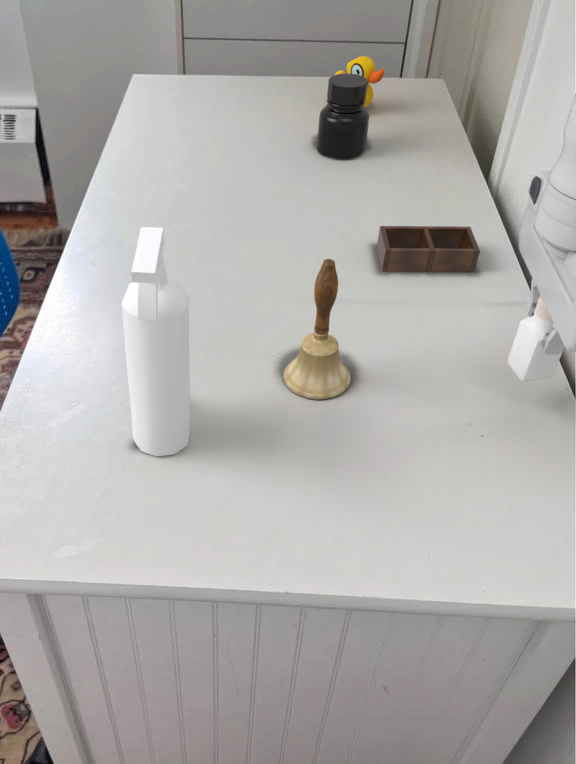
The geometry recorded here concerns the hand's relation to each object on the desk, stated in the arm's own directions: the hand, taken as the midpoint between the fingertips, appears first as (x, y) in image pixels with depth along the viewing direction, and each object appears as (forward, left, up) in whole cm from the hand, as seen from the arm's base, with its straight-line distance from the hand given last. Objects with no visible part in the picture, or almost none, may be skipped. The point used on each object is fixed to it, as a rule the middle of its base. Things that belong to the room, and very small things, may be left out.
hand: (542, 333), depth 78 cm
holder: (+6, -30, -10) cm, 32 cm away
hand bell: (+23, -4, -10) cm, 26 cm away
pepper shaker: (0, 0, -5) cm, 5 cm away
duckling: (+11, -89, -10) cm, 90 cm away
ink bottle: (+15, -70, -10) cm, 72 cm away
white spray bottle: (+41, +6, -10) cm, 43 cm away
